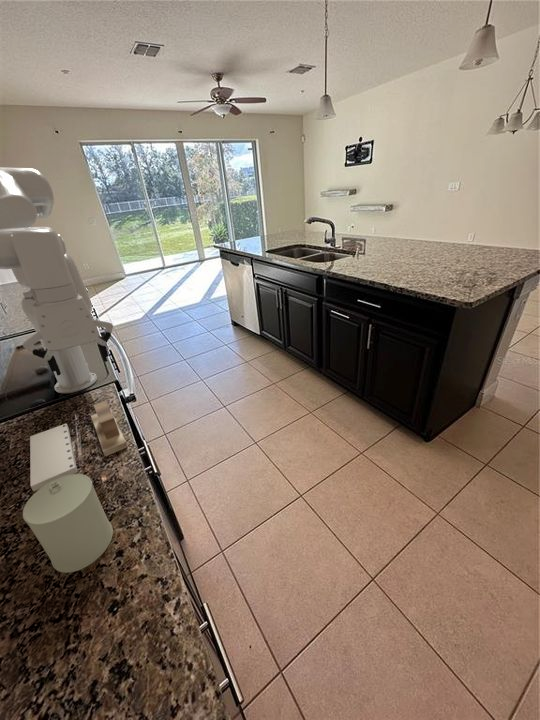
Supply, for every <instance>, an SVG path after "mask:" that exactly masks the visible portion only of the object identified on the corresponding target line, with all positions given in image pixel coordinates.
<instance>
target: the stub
mask: <svg viewBox="0 0 540 720" xmlns="http://www.w3.org/2000/svg"><path fill="white" fill-rule="evenodd" d="M93 407H94V409H95V413H94V414H92V415H90V417H91V420H92V422H93V426H94V429H95V432H96V435H97V438H98V441H99V444H100V447H101V450H102V453H103V456H104V457H108V456H110V455H112V454H114V453H116V452H117V453H118V452H119V451H122V450H124V449H126V448H128V444H127V442H126V439H125V437H124V434H123V433H122V431H121V429H120V428H121V427H120V426H119V424H118V421H117V420H116V418H115V416H114V413H113V411H112V409H111V408H110V405H109V404H108V401H107V400H104V401H101V402H98V403H95V404H93Z"/></svg>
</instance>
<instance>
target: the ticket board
mask: <svg viewBox="0 0 540 720" xmlns="http://www.w3.org/2000/svg"><path fill="white" fill-rule="evenodd" d="M29 440H30V441H29V447H30V448H29V449H30V450H29V451H30V453H29V454H30V455H29V457H30V458H29V460H30V462H29V463H30V468H29V469H30V470H29V471H30V474H29V475H30V476H29V477H30V488H31V490H32V491H33V492H34V493H35V492H37V491H38V490H39V489H40V488H42V487H43V486H45V485H46V484H48V483H50V482H51V481H53V480H55V479H58V478H60V477H63V476H66V475H71V474H78V468H77V464H76V463H77V462H76V459H75V454H74V453H75V452H74V448H73V443H72V438H71V434H70V428H69V426H68V424H67V423H63V424H62V425H58V426H56V427H52V428H50V429H48V430H45V431H42V432H38V433H36V434H32V435H30V436H29Z"/></svg>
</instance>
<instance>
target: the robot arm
mask: <svg viewBox="0 0 540 720" xmlns="http://www.w3.org/2000/svg"><path fill="white" fill-rule="evenodd" d="M54 200H55V199H54V191H53V189H52V186H51V184H50V182H49V181H48V179H47V178H46V176H45V175H44V174H43V173H42V172H40V171H39V170H37V169H35V168H31V167H7V166H6V167H4V166H3V167H1V166H0V270H11V271H12V273H13V275H14V277H15V279H16V281H17V283H18V284H19V285H20V286H22V288H26V289H29V290H28V291H27V292H23V293H22V295H23V297H22V299H21V303H20V304H21V309H22V311H23V313H24V314H25V316H26V317H27V319H28V321H29V322H30V324H31V326H32V327H33V329H34V330H35V333H34V334H32V336H30V337H28V339H26V340H25V341H23V343H22V346H23V348H24V349H26V350H27V351H28V352H30V353H31V354H32V355H34V356H36V357H39V358H41V359H44V360H45V361H47V363H48V366H49V369H50V370H51V372H52V373H54V376H55V378H56V381H57V382H56V384H55V385H54V392H55V391H56V392H57V393H58V394H59V393H60V394H72V393H76V392H79V391H82V390H85V389H87V388H88V387H91V386H92V385H94V384H95V383H96V382H97V380H98V376H97V374H96V373H95V372H90V369H89V363H88V362H86V358H85V356H84V352H83V349H82V347H81V346H82V345H87V344H90V343H97V346H98V350H99V354H100V356H101V359H102V361H103V362H104V363H107V362H108V358H107V357H109V356H110V354H109V352H108V349H107V344H108V341H109V340H110V338H111V337H112V332H113V329H114V324H112V322H108V321H104V320H98V319H94V318H93V316H92V311H93V304H92V300H91V298H90V295H89V293H88V291H87V288H86V286H85V283H84V281H83V278H82V276H81V274H80V271H79V269H78V266H77V265H76V263H75V261H74V259H73V258H72V256H71V255H69V253H67V248H66V244H65V241H64V239H63V236H62V235H61V234H59V233H58V232H57V231H56V230H55V229H53V228H52V227H49V226H34V224H35V223H36V221H37V219H44V218H49V217H50V216H51V215H52V210H53V205H54ZM32 226H33V227H32ZM97 327H99V328H103V329H104V332H103V333H102V336H100V335H99V332H98V331H99V330H98V329H97ZM39 341H40V343H41V346H42V348H43V349H41V348H38V347H37V346H36V345H35V344H37V343H38V342H39Z"/></svg>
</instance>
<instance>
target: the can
mask: <svg viewBox="0 0 540 720" xmlns="http://www.w3.org/2000/svg"><path fill="white" fill-rule="evenodd" d="M22 518H23V520H24V521H25V523H26V524H27V525H28V527H29V528H30V529H31V531H32V533H33V534H34V536H35V537H36V539H37V540H38V542H39V543H40V545H41V546H42V548H43V549H44V552H45V553H46V554H47V556H48V558H49V559H50V560H49V561H51V565H52V567H53V568H54V570H56V571H57V572H59V573H65V574H67V573H74V572H77V571H81V570H82V569H85V568H86V567H88V566H90V565H91V564H93V563H94V562H96V561H97V560H98V559H99V558H100V557H101V556H103V554H104V553H105V551H106V550H107V549H108V547H109V546H110V544H111V541H112V538H113V535H114V530H113V525H112V524H111V522H110V521H109V519H108V517H107V515H106V513H105V511H104V508H103V506H102V504H101V502H100V499H99V497H98V494H97V492H96V490H95V487H94V485H93V482H92V479H91V478H90V477H89V476H87V475H85V474H81V473H75V474H71V475H66V476H63V477H60V478H58V479H55V480H53V481H51V482H50V483H48V484H46V485H45V486H43V487H42V488H40V489H38V490H36V491H35V492H34V493H33V494H32V495H31V497H30V498H29V499H28V500H27V501H26V503H25V505H24V507H23V510H22Z"/></svg>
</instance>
